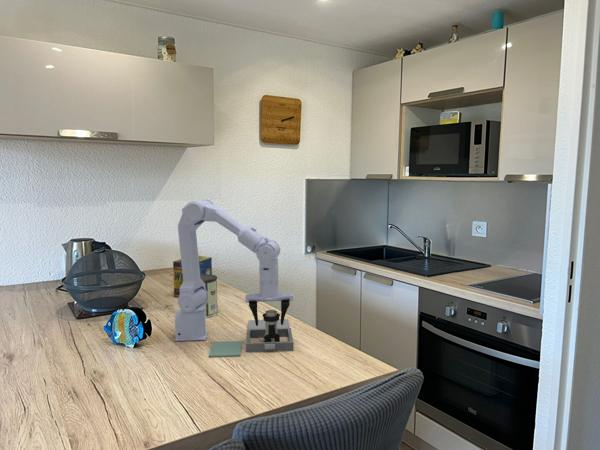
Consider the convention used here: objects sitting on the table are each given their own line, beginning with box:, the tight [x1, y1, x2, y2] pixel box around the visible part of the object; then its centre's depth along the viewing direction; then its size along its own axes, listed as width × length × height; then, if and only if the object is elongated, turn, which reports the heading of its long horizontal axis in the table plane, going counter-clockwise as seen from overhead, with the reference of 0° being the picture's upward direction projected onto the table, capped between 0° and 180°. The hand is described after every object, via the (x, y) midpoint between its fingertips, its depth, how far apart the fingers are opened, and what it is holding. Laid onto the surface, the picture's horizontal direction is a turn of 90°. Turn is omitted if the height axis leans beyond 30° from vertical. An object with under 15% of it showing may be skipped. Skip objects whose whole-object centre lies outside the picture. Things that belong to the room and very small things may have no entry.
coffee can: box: [200, 274, 219, 319], centre depth 170 cm, size 10×10×14 cm
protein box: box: [172, 255, 213, 298], centre depth 199 cm, size 10×15×16 cm
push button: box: [258, 309, 281, 342], centre depth 141 cm, size 7×5×10 cm
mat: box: [208, 340, 243, 358], centre depth 136 cm, size 9×11×1 cm
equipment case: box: [245, 318, 294, 353], centre depth 147 cm, size 14×27×2 cm, turn 5°
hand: (269, 324), depth 141 cm, fingers open, 7 cm apart
